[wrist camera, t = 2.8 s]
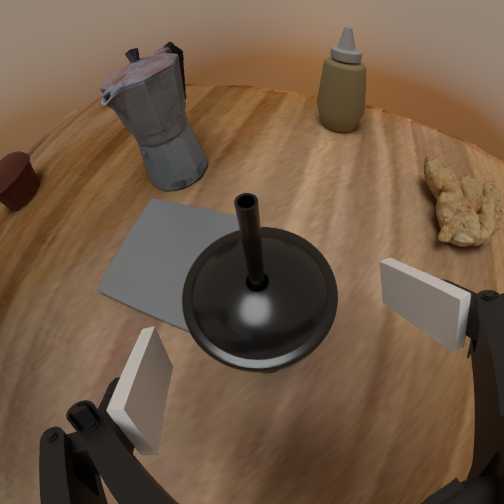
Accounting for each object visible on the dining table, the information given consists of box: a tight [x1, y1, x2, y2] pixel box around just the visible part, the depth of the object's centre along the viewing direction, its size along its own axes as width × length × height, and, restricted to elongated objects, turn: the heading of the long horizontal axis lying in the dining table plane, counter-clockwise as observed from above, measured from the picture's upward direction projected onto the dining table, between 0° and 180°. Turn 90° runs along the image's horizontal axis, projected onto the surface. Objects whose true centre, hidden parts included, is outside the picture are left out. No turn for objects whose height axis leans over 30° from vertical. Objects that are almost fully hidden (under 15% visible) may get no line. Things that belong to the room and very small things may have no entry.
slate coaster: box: [97, 198, 239, 332], centre depth 30 cm, size 14×14×1 cm
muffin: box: [0, 152, 40, 211], centre depth 38 cm, size 12×11×10 cm
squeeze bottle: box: [317, 28, 366, 132], centre depth 35 cm, size 8×8×18 cm
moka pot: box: [100, 42, 207, 191], centre depth 30 cm, size 10×15×20 cm, turn 165°
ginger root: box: [424, 156, 504, 247], centre depth 28 cm, size 16×16×8 cm
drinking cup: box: [182, 193, 338, 373], centre depth 16 cm, size 8×8×20 cm
